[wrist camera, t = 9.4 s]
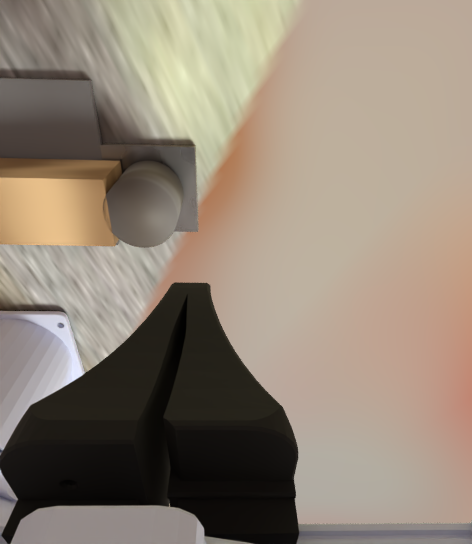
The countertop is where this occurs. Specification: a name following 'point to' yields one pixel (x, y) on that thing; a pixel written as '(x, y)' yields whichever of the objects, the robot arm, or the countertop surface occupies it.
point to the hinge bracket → (173, 157)
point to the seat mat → (48, 119)
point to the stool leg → (87, 202)
